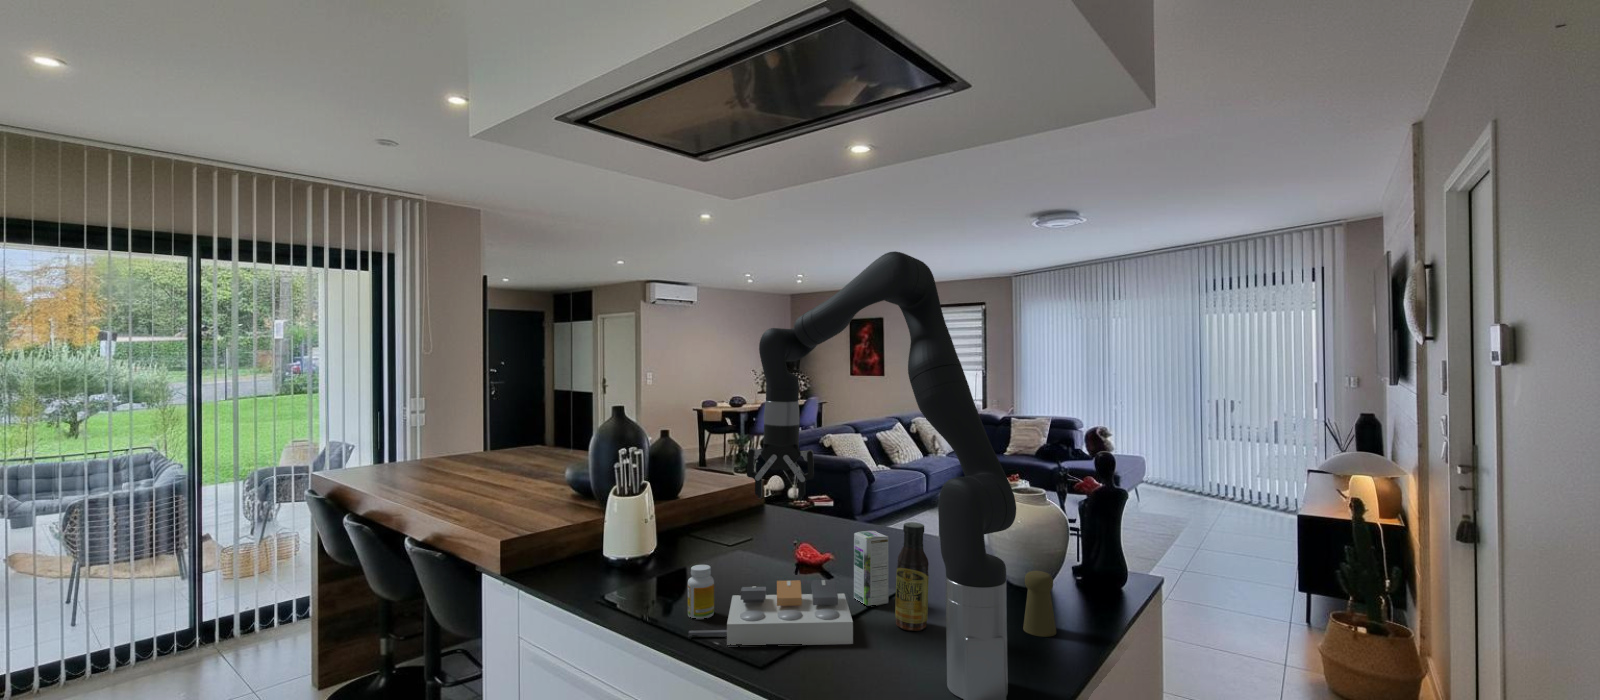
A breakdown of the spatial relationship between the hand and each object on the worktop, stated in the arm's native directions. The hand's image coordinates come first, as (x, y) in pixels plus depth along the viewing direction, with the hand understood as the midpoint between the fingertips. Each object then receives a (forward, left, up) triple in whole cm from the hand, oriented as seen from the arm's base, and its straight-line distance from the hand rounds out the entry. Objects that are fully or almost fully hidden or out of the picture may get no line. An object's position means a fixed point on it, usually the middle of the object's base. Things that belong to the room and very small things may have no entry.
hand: (780, 498), depth 138 cm
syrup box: (+2, -20, -23) cm, 30 cm away
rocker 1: (-10, +5, -18) cm, 21 cm away
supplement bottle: (-4, +16, -23) cm, 29 cm away
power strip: (-12, +2, -23) cm, 26 cm away
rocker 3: (-9, -9, -18) cm, 22 cm away
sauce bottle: (-12, -26, -23) cm, 36 cm away
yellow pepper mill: (-15, -50, -23) cm, 57 cm away
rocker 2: (-9, -2, -18) cm, 21 cm away
